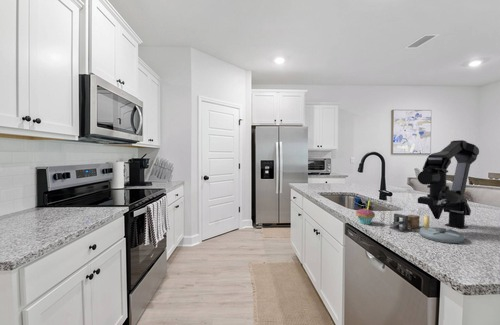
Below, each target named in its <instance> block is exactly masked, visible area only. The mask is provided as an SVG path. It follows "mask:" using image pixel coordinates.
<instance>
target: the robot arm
mask: <svg viewBox="0 0 500 325" xmlns="http://www.w3.org/2000/svg"><path fill="white" fill-rule="evenodd" d="M479 154H480V149H479V147H478V146H476V145H475V144H473V143H470V142H468V141H466V140H463V139H461V140H460V139H459V140H452V141H450V143H449V144H448V145H446V146H445V147H444V148H442V149H441V150H440V151H439V152H438V151H437V152H433V153H431V154H429V155H428V156H427V158H426V160H425V162H424V164H423V167H422V171H420V172H419V173H418V174H417V177H416V178H417V181H418V182H419V184H421V185H426V187H427V188H428V189H429V194H426V196H425V195H424V196H419V197H418V198H417V204H420V205H421V204H422V205H427V206H428V208H429V210H430V212H431V213H432V215H433V217H434V219H435V220H440V218H441V215H442V213H443V212H444V213H448V223H445V224H444V225H445V226H446V227H447V226H448V227H452V228H456V229H460V230H461V229H467V228H469V226H468V225H466V224H465V223H466V222H465V219H466V217H467V216H471V212H472V210H471V208H470V206H469V203H468V198H467V196H466V195H465V191H466V186H467V183H468V182H467V181H468V176H469V172H470V169H471V164H473V163H474V162H475V161H476V160H477V157H478V155H479ZM453 158H455V161H456V162H457V163H456V167H455V171H454V176H453V180H452V184H451V189H450V187H449V186H448V185H447V173H449V170H448V168H449V166H450V165H451V164H452V159H453ZM465 216H466V217H465Z"/></svg>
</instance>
